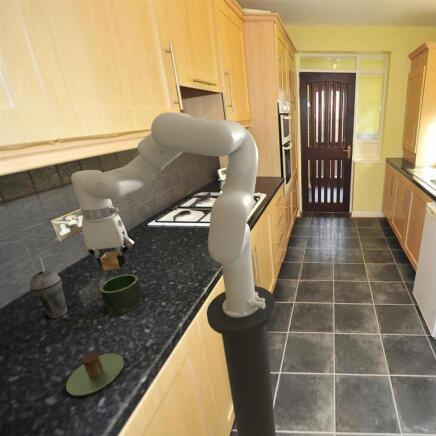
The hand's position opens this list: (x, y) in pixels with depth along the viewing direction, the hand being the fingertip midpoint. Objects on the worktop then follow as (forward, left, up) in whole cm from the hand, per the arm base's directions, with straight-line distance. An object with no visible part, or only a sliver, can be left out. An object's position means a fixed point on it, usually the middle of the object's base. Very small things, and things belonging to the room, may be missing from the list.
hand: (114, 265), depth 86 cm
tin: (0, 0, -15) cm, 15 cm away
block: (0, 0, 0) cm, 0 cm away
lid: (-18, +23, -15) cm, 32 cm away
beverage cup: (+17, +10, -16) cm, 25 cm away
